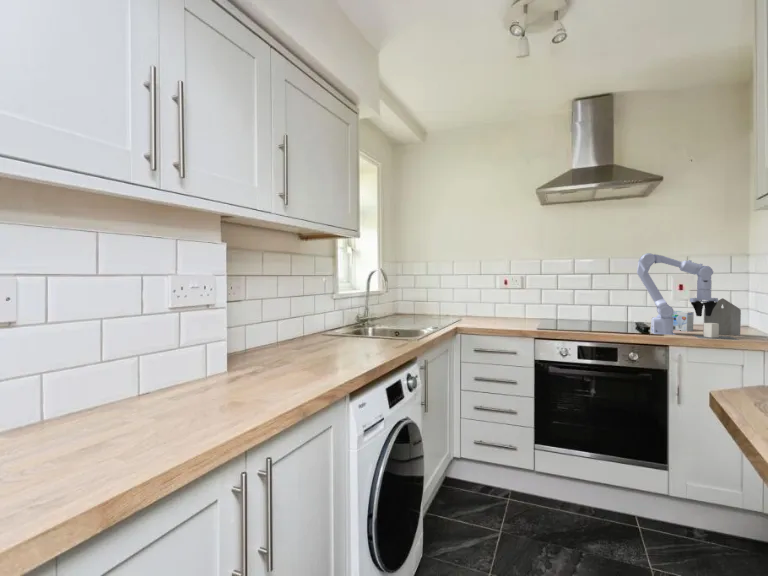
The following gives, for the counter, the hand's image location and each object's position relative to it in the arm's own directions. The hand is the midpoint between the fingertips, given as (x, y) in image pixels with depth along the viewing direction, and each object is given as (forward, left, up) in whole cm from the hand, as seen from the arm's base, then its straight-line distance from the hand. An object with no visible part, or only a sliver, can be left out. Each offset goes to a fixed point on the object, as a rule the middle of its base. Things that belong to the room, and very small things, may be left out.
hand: (703, 316), depth 201 cm
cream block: (+1, -7, -10) cm, 12 cm away
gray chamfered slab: (+10, +12, -11) cm, 19 cm away
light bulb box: (-3, +25, -11) cm, 27 cm away
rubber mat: (+3, -6, -10) cm, 12 cm away
